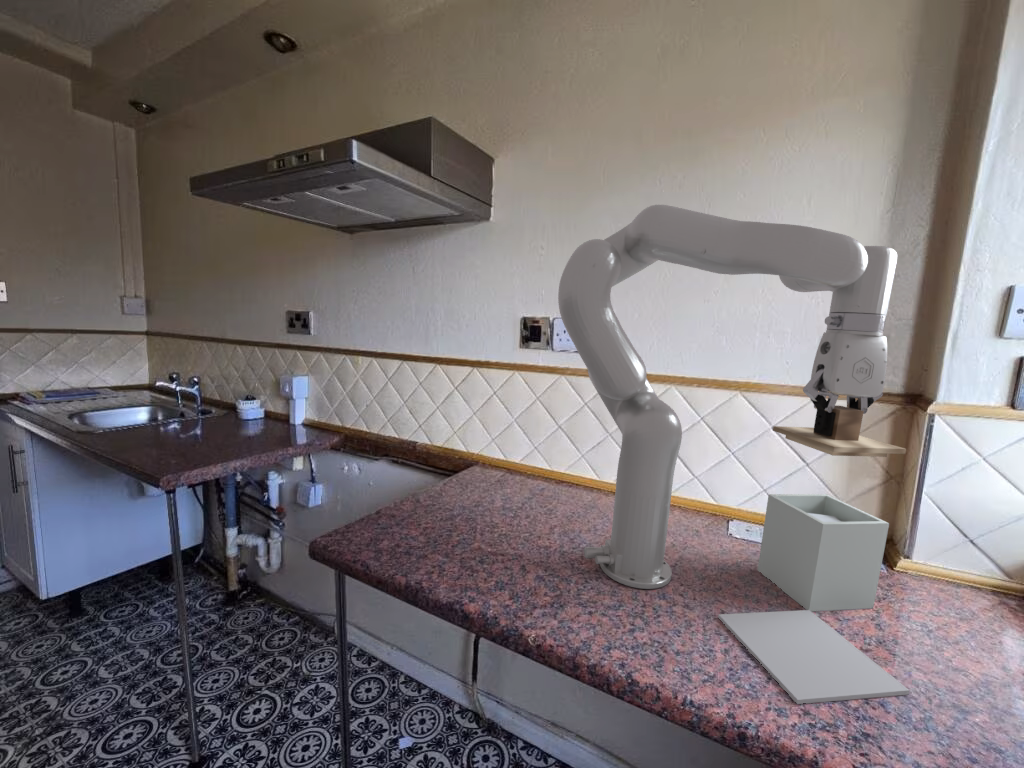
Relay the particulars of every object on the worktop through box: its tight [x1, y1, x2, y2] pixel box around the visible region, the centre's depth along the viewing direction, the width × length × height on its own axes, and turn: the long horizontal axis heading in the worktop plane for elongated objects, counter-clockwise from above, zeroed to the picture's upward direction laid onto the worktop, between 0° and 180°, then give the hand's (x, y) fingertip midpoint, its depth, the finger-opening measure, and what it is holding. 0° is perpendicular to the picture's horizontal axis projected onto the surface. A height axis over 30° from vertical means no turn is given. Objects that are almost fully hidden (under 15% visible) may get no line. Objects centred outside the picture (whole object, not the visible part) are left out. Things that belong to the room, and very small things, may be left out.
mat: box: [717, 609, 910, 705], centre depth 64 cm, size 16×16×1 cm
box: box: [757, 493, 890, 613], centre depth 80 cm, size 12×12×15 cm
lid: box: [772, 404, 907, 458], centre depth 76 cm, size 13×13×7 cm
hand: (835, 433), depth 77 cm, fingers closed on lid, 4 cm apart
